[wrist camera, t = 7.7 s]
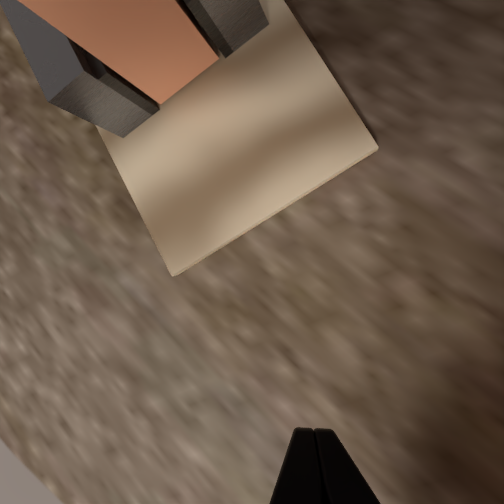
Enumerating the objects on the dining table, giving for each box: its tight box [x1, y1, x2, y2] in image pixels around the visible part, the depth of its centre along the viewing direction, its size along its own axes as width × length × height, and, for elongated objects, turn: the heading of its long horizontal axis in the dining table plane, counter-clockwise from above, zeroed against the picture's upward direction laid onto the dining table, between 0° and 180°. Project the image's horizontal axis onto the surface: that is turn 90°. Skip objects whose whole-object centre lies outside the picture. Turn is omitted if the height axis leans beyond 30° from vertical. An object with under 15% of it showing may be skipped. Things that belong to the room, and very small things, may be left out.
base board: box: [96, 0, 378, 276], centre depth 23 cm, size 19×14×1 cm
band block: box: [0, 0, 269, 138], centre depth 21 cm, size 8×13×6 cm, turn 121°
